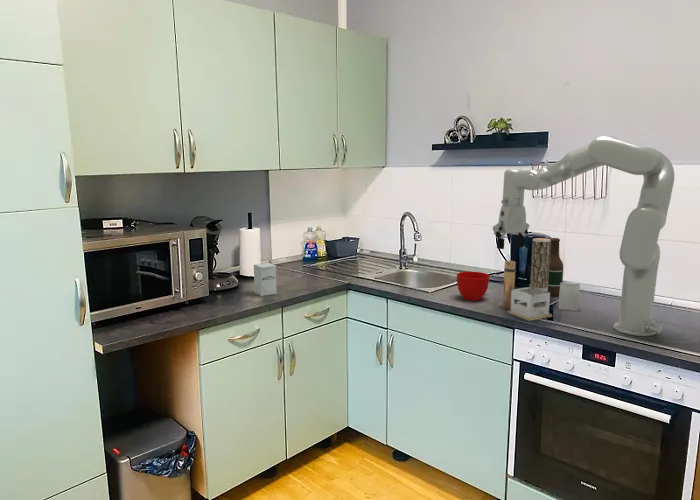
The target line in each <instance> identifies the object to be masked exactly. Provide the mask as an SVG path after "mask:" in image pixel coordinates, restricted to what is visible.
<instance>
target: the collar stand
mask: <svg viewBox="0 0 700 500" xmlns="http://www.w3.org/2000/svg"><path fill="white" fill-rule="evenodd" d="M550 298H551V296H550V292H547V291H543V290H540V289H536V288H533V287H530V286H528V287H519V288H514V289H513V290H512V293H511V309H507V312H506V313H507V314H509V315H512V316H515V317H517V318H520V319H523V320H525V321H528V322H532V321H537V320H538V321H539V320H543V319H548V318H551V317H553V313H550V302H551V301H550ZM547 317H548V318H547ZM542 318H543V319H542Z"/></svg>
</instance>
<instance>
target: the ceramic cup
mask: <svg viewBox="0 0 700 500" xmlns="http://www.w3.org/2000/svg"><path fill="white" fill-rule="evenodd" d="M489 283H490V275H489V274H488V273H485V272H481V271H460V272H458V273H456V284H457V285H456V286H457V289H458V292H459V293H460V295H461V296H462V298H463V299H464V300H466V301H475V302H476V301H479V300H481V299H482V298H483V297H484V296H485V294H486V293H487V291H488V287H489Z"/></svg>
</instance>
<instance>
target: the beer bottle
mask: <svg viewBox="0 0 700 500" xmlns="http://www.w3.org/2000/svg"><path fill="white" fill-rule="evenodd" d="M550 239H551V247H550V263H549V279H548V292H550V297H553V298H554V297H557V298H558V297H559V291H560V283H564V282H563V280H564V279H563V277H564V263H563V261H562V259H561V258H560V241H561V239H560V238H559V237H552V238H550Z"/></svg>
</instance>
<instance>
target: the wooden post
mask: <svg viewBox="0 0 700 500" xmlns="http://www.w3.org/2000/svg"><path fill="white" fill-rule="evenodd" d="M516 264H517V262H516V261H515V260H505V261H504V268H503V269H504V270H503V271H504V272H503V290H502V308H503V309H507V310H511V293H512V290H513V289H515V287H516V286H515V285H516V284H515V282H516V269H517V268H516Z"/></svg>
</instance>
